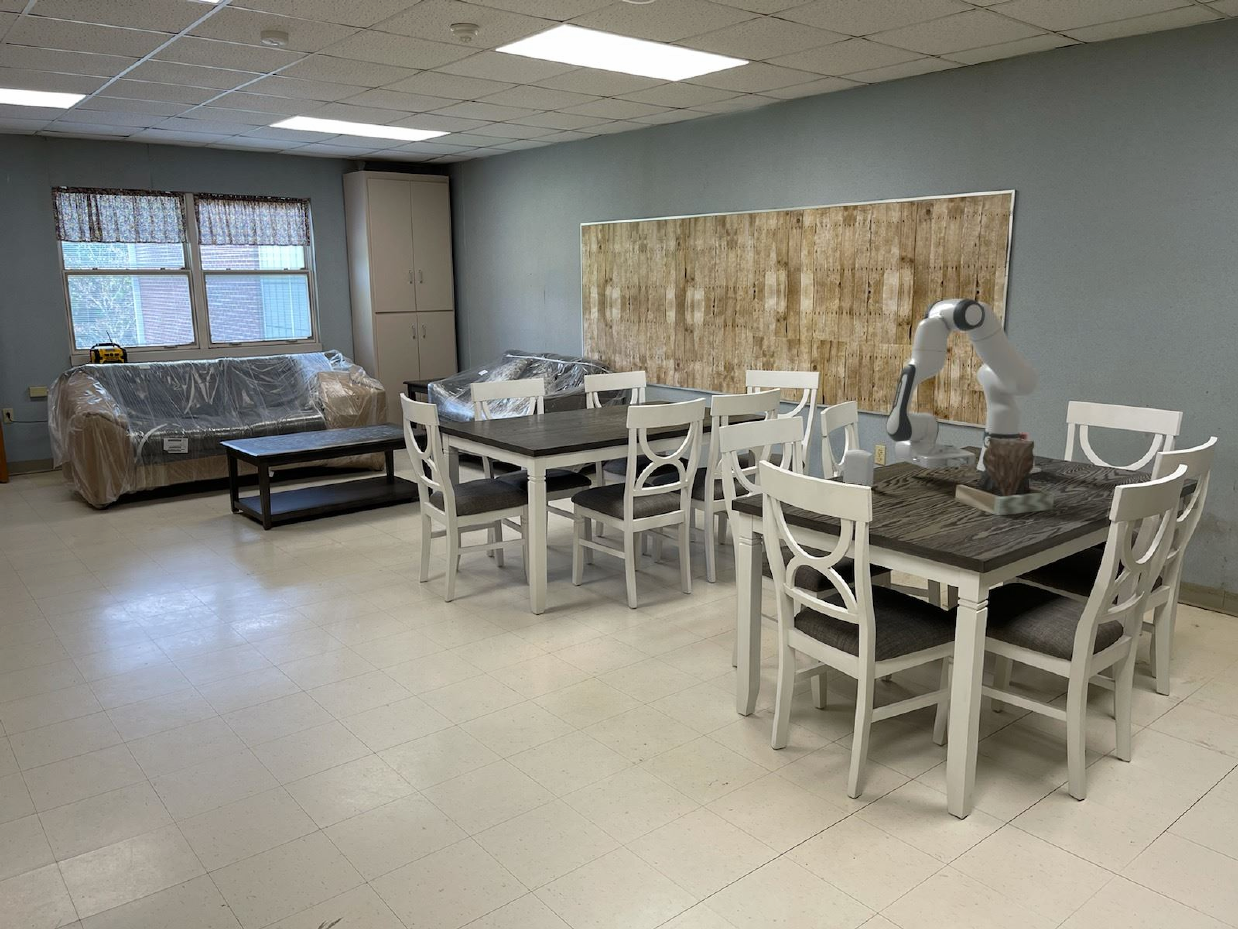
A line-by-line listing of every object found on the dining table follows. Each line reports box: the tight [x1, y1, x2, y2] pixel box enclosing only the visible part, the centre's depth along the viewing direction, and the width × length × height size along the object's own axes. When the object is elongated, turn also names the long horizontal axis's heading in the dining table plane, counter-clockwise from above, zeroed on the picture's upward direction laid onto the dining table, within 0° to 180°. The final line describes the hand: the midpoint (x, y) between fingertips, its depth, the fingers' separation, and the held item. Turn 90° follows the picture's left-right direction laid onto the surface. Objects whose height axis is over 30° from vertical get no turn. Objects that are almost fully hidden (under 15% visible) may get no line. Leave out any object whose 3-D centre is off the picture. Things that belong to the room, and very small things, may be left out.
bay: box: [954, 484, 1055, 516], centre depth 274 cm, size 21×18×5 cm
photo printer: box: [842, 449, 875, 488], centre depth 295 cm, size 10×4×12 cm, turn 39°
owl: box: [976, 438, 1035, 497], centre depth 275 cm, size 13×13×20 cm
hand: (963, 464), depth 289 cm, fingers closed
